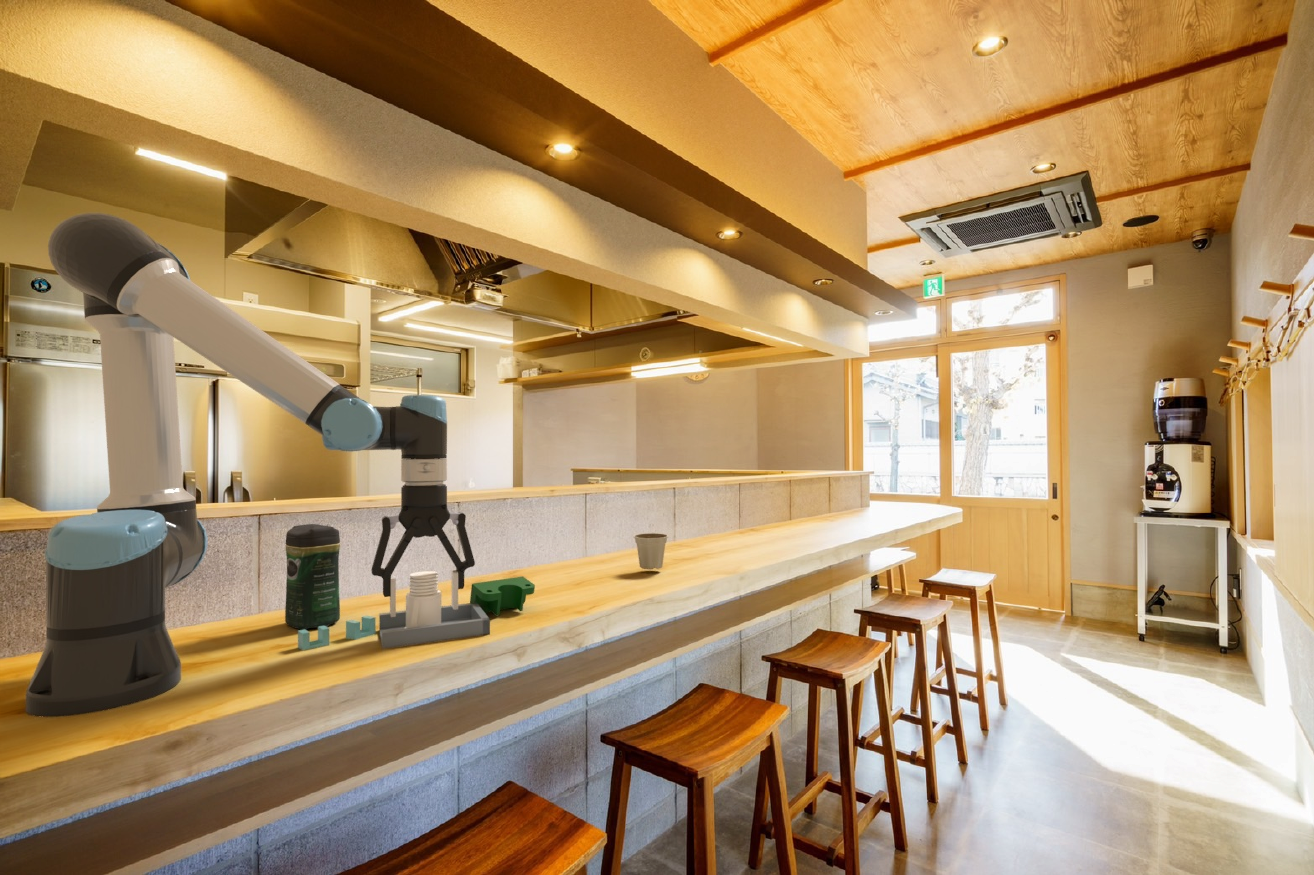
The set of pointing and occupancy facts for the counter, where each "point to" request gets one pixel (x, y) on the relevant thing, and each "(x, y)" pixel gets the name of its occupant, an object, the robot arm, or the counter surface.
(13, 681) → the counter surface
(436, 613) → the white stepped cylinder
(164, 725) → the counter surface
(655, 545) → the flower pot
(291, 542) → the coffee jar
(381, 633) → the end holder
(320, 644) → the clips
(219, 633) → the counter surface
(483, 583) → the clamp
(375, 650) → the counter surface
